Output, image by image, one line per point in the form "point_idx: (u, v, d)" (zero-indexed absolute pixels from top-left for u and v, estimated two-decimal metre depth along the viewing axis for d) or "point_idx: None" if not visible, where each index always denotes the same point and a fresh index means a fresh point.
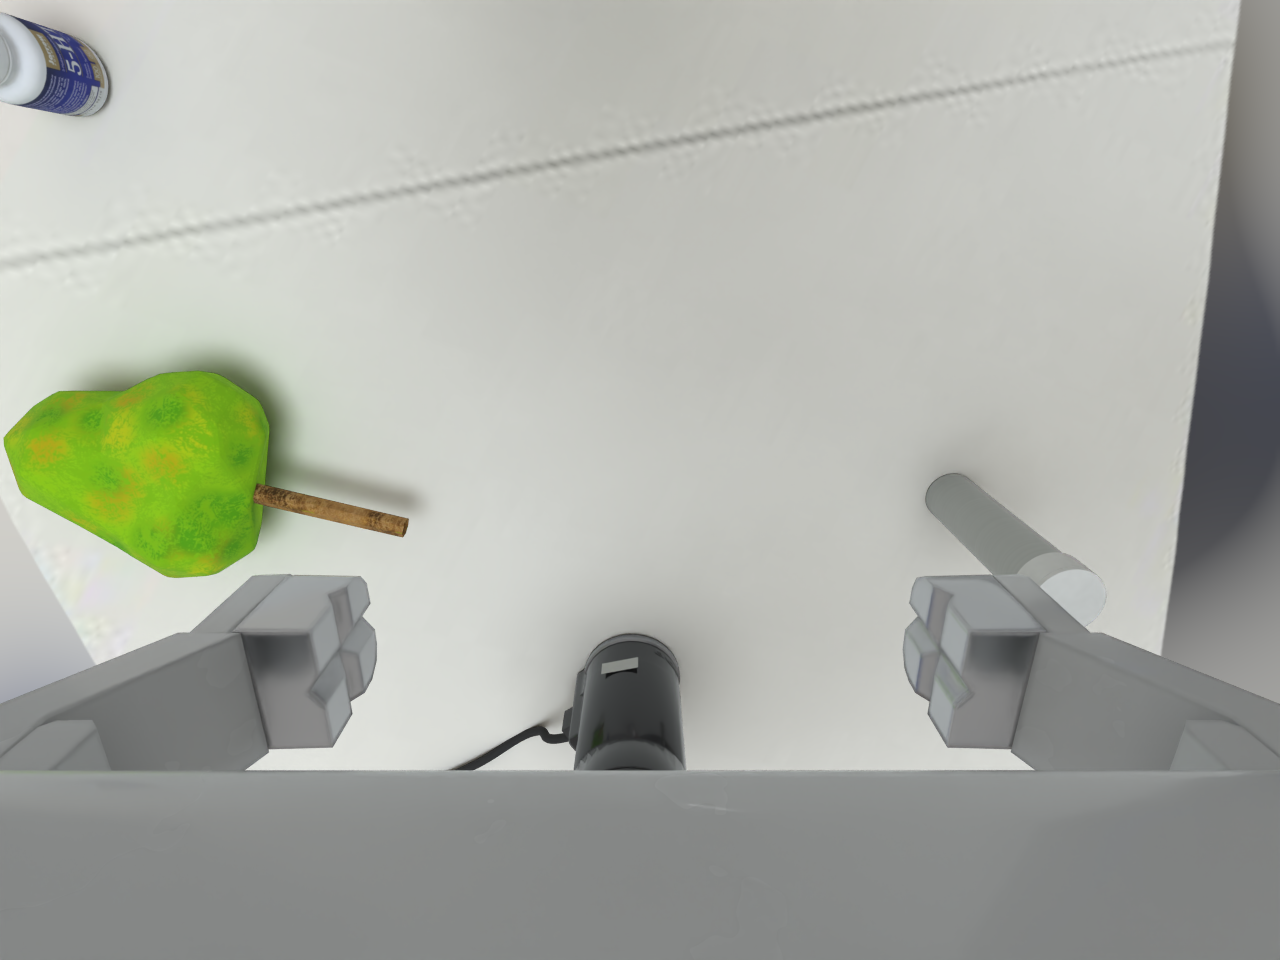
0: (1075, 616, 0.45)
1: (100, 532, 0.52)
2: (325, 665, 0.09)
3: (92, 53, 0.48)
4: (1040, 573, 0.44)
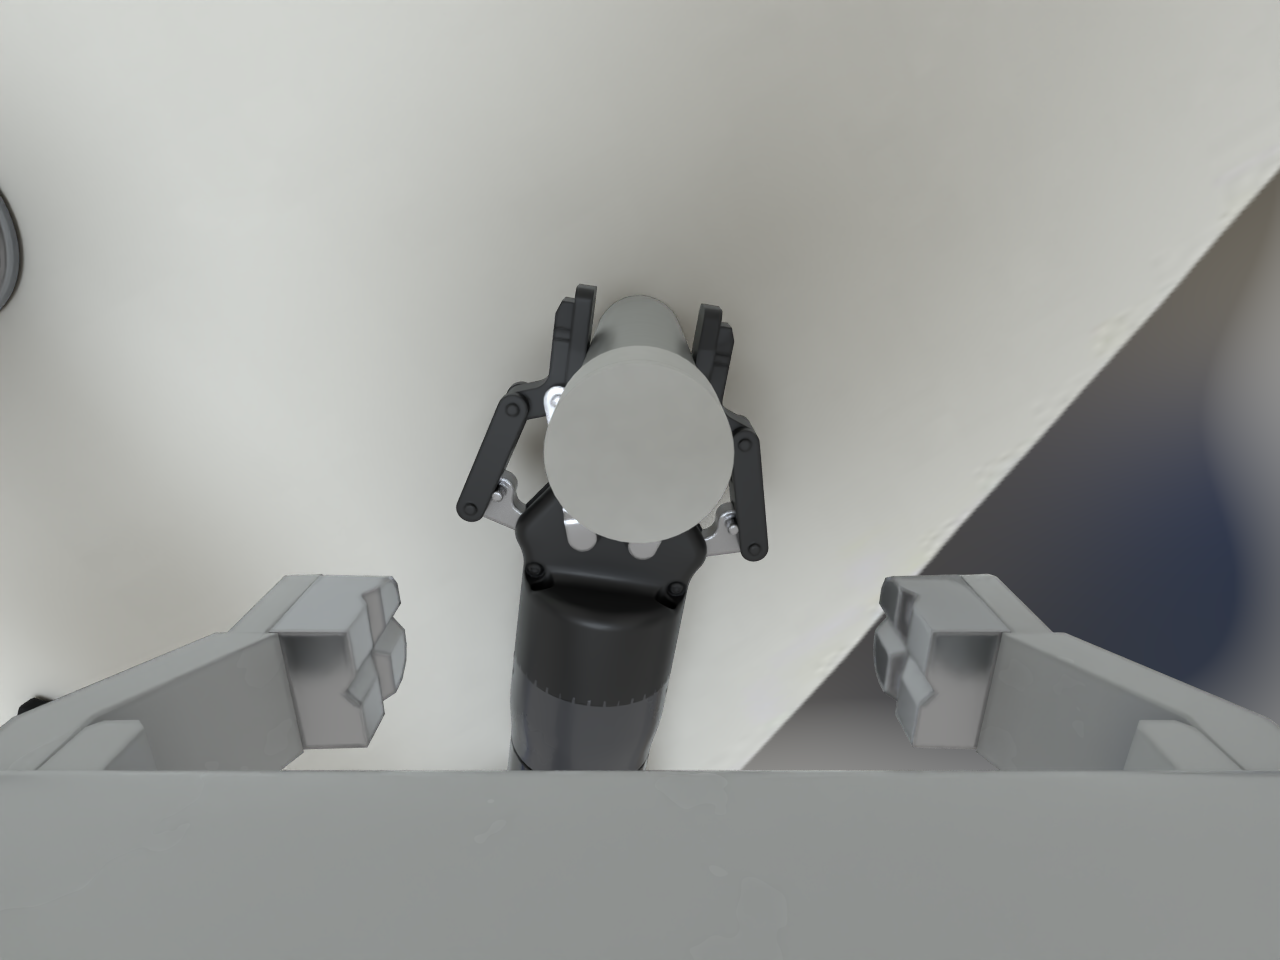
0: (629, 503, 0.18)
1: None
2: (360, 665, 0.09)
3: None
4: (632, 356, 0.17)
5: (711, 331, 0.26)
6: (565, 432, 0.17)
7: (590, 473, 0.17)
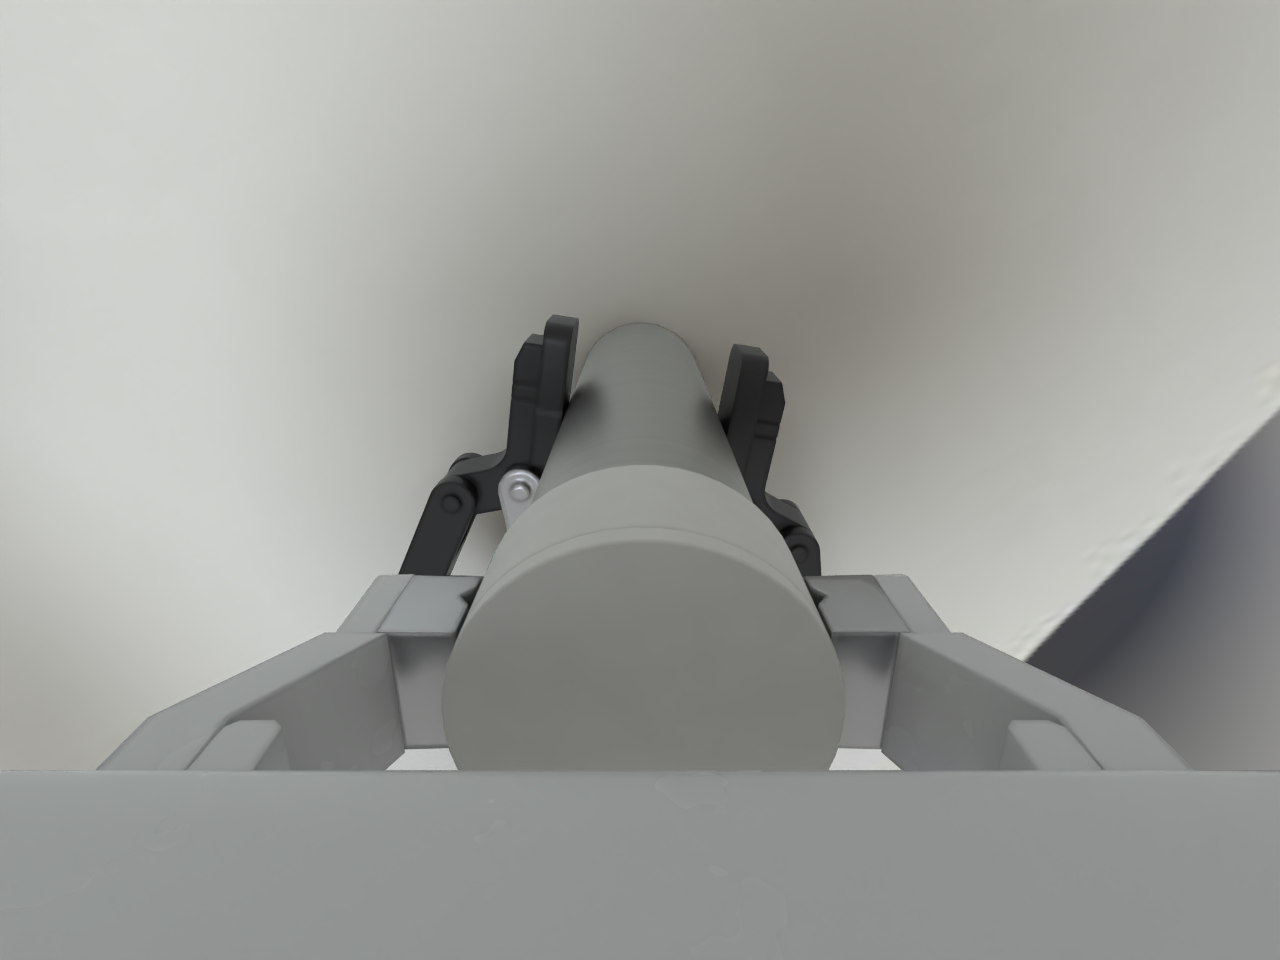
0: None
1: None
2: None
3: None
4: (630, 509, 0.08)
5: (752, 390, 0.17)
6: (485, 676, 0.08)
7: (541, 750, 0.08)
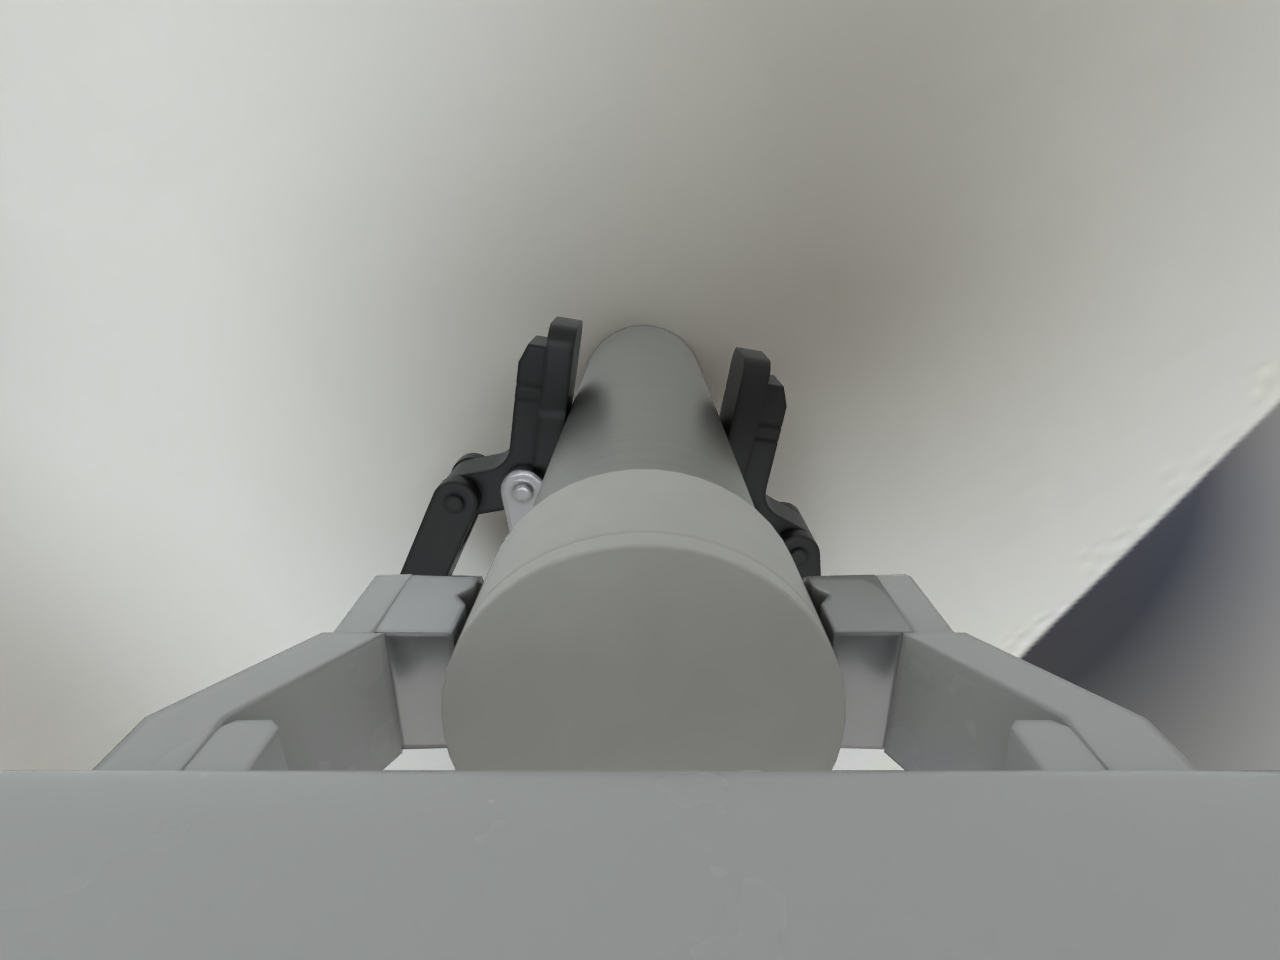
0: (739, 764, 0.08)
1: None
2: None
3: None
4: None
5: (754, 393, 0.17)
6: None
7: None
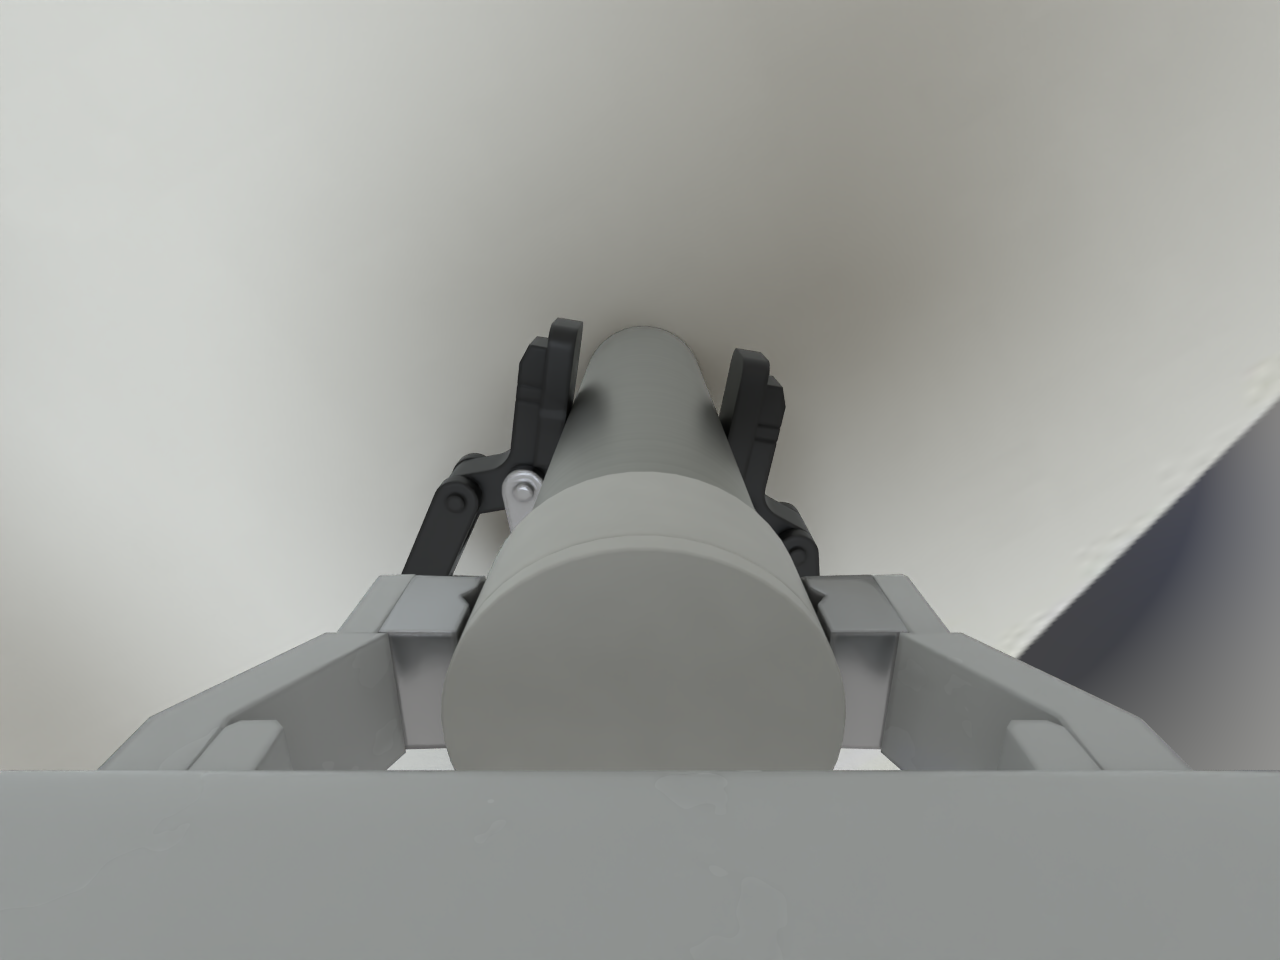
0: (715, 659, 0.08)
1: None
2: None
3: None
4: None
5: (753, 394, 0.17)
6: None
7: (750, 744, 0.08)
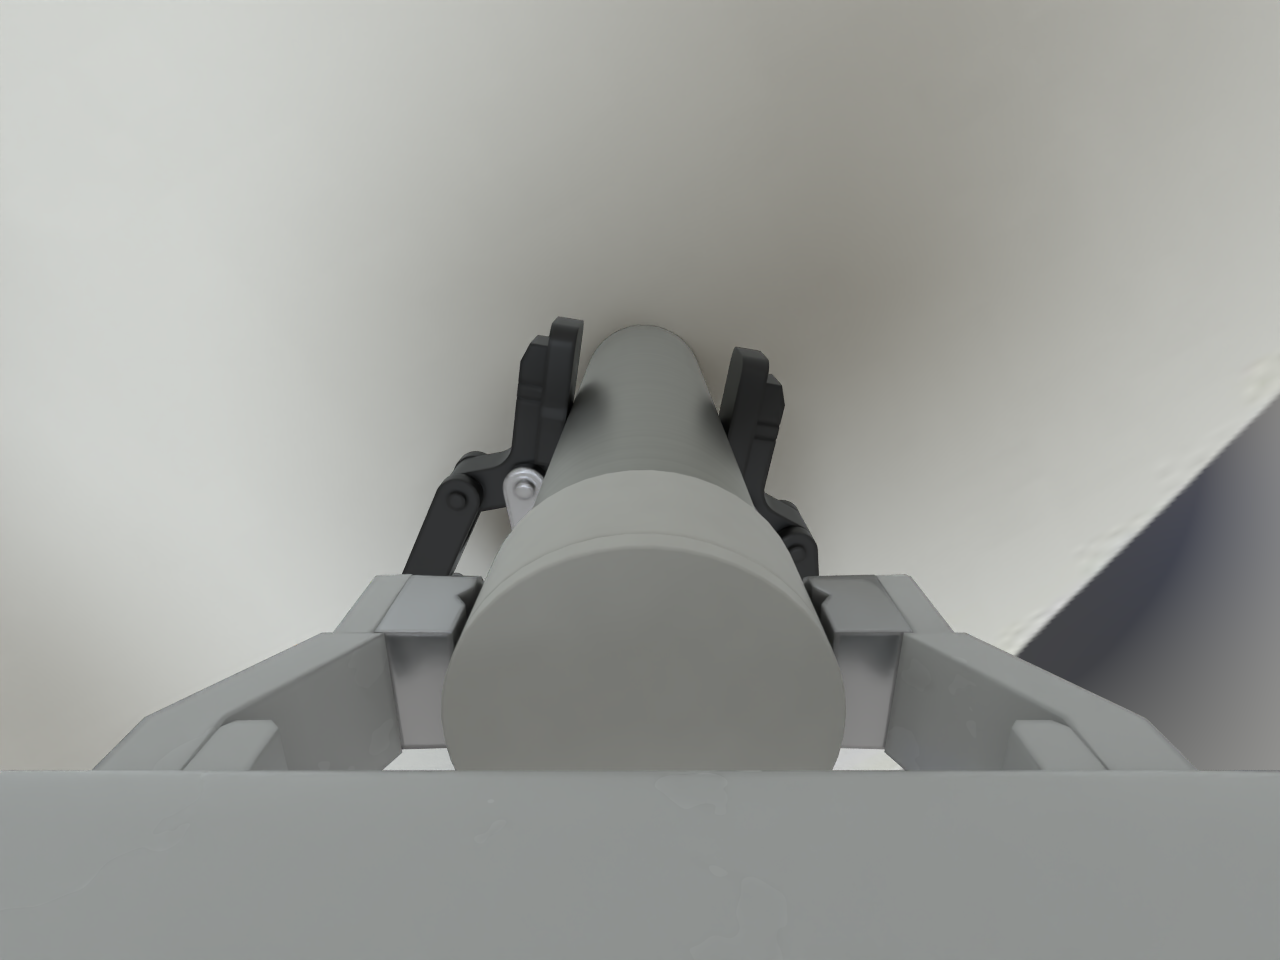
0: (576, 653, 0.08)
1: None
2: None
3: None
4: None
5: (752, 392, 0.18)
6: (795, 667, 0.08)
7: (690, 642, 0.08)
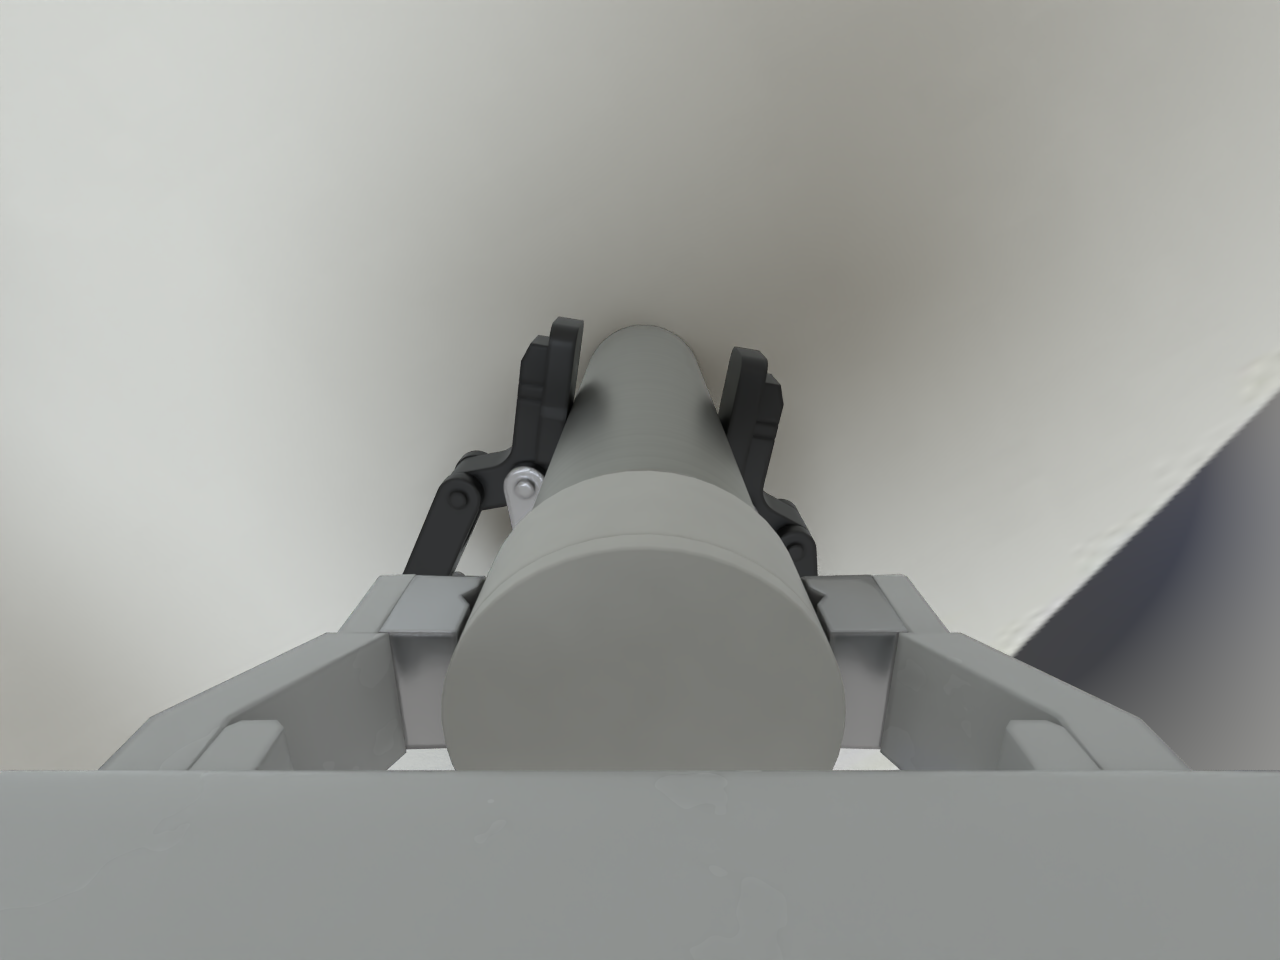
0: (544, 760, 0.08)
1: None
2: None
3: None
4: (800, 589, 0.08)
5: (751, 391, 0.18)
6: (604, 589, 0.07)
7: (554, 671, 0.08)
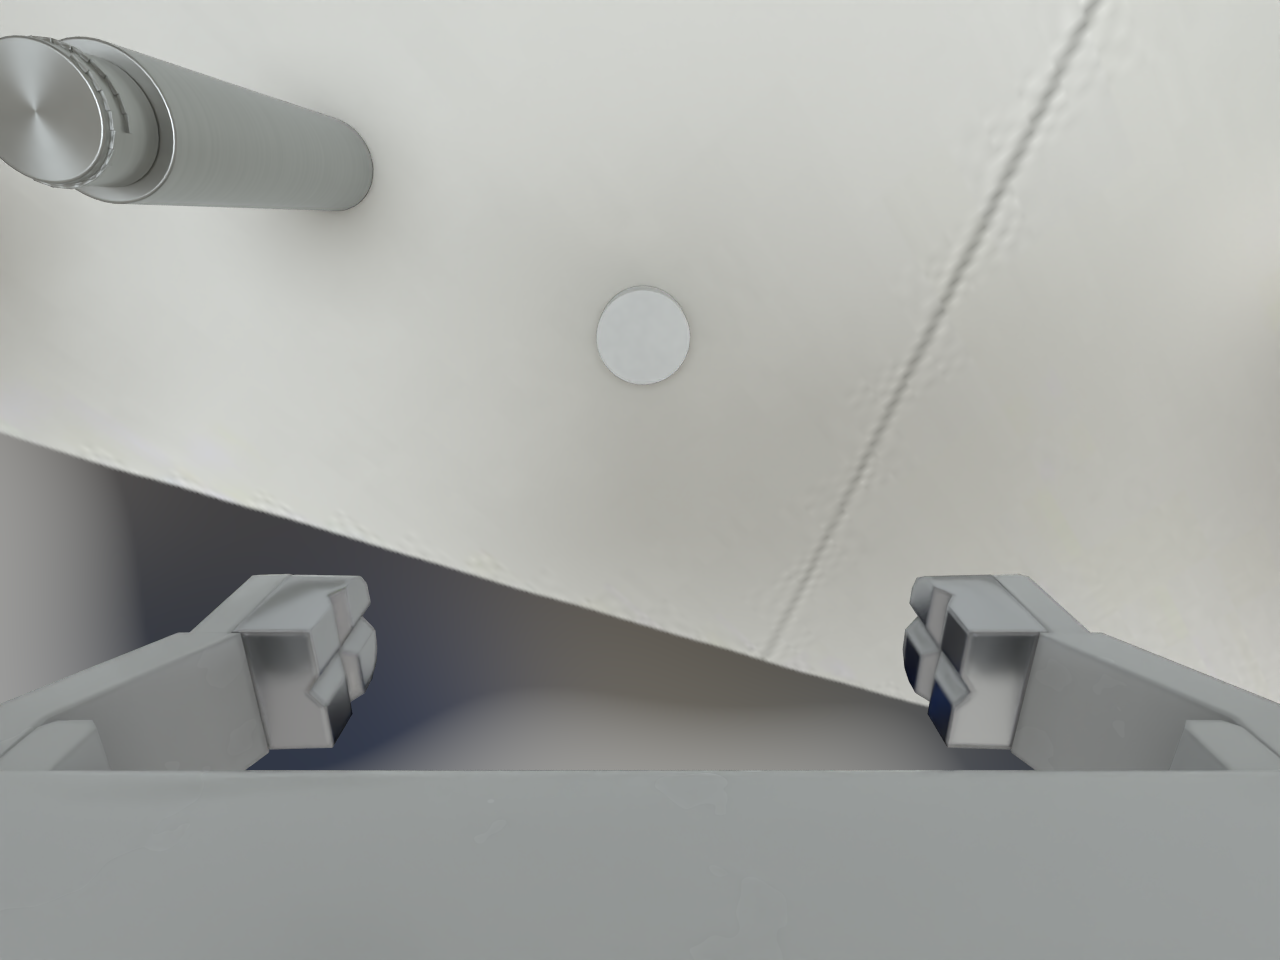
0: (620, 348, 0.35)
1: None
2: (325, 665, 0.09)
3: None
4: (680, 307, 0.35)
5: None
6: (634, 300, 0.34)
7: (622, 322, 0.35)
